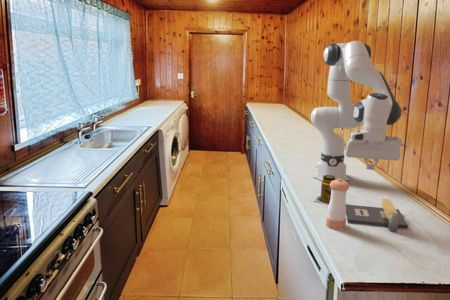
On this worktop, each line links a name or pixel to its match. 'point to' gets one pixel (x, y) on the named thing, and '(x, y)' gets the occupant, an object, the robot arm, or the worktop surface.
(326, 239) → the worktop surface
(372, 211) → the board
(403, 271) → the worktop surface
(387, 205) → the tan piece
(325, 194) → the condiment
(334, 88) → the robot arm
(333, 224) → the pepper shaker
